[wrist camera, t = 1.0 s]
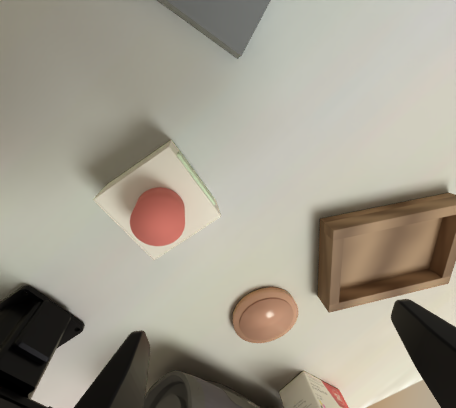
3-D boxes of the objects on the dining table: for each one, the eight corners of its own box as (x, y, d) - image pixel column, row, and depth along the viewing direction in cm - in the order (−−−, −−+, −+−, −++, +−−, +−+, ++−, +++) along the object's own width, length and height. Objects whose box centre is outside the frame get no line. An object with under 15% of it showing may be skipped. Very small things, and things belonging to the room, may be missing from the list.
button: (156, 238, 17) (153, 255, 16) (124, 205, 16) (117, 218, 14) (194, 214, 17) (195, 227, 15) (165, 177, 16) (162, 188, 14)
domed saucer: (252, 345, 28) (255, 353, 27) (219, 311, 25) (221, 319, 24) (304, 314, 28) (309, 321, 27) (277, 275, 25) (281, 282, 24)
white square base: (157, 239, 21) (154, 260, 18) (106, 185, 18) (92, 199, 16) (217, 199, 20) (223, 215, 18) (172, 138, 18) (171, 145, 15)
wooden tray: (317, 295, 27) (328, 312, 25) (319, 218, 23) (333, 230, 21) (428, 269, 28) (448, 283, 26) (449, 192, 24) (474, 201, 22)
